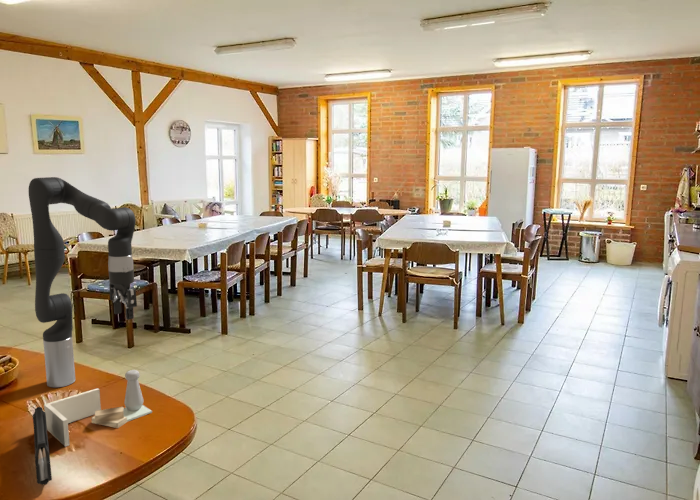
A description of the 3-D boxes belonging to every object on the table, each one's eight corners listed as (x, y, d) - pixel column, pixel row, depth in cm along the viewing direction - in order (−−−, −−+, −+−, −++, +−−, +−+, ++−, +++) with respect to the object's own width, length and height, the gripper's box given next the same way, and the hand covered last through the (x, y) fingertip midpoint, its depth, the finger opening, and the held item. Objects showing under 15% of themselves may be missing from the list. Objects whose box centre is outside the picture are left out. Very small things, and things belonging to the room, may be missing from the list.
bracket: (46, 428, 160) (44, 404, 158) (99, 410, 171) (97, 388, 170) (65, 446, 150) (63, 420, 149) (120, 426, 162) (118, 402, 160)
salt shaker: (139, 402, 176) (137, 366, 174) (146, 408, 172) (144, 371, 170) (121, 408, 172) (119, 371, 170) (128, 414, 168) (126, 376, 166)
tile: (114, 413, 170) (114, 411, 170) (139, 404, 176) (139, 402, 176) (127, 421, 165) (126, 420, 165) (152, 412, 171) (152, 410, 171)
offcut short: (95, 422, 161) (95, 415, 160) (95, 417, 164) (95, 410, 163) (123, 417, 164) (123, 411, 164) (123, 412, 167) (123, 406, 167)
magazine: (31, 406, 155) (31, 420, 129) (44, 403, 157) (46, 416, 131) (37, 465, 153) (37, 490, 128) (49, 461, 155) (52, 486, 130)
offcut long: (91, 424, 164) (91, 417, 163) (101, 418, 168) (101, 412, 167) (118, 429, 161) (117, 423, 161) (127, 423, 165) (126, 417, 164)
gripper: (100, 267, 173) (103, 314, 176) (119, 273, 164) (122, 323, 166) (122, 264, 179) (125, 309, 181) (142, 270, 169) (145, 318, 172)
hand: (123, 316), depth 174 cm, fingers open, 8 cm apart
